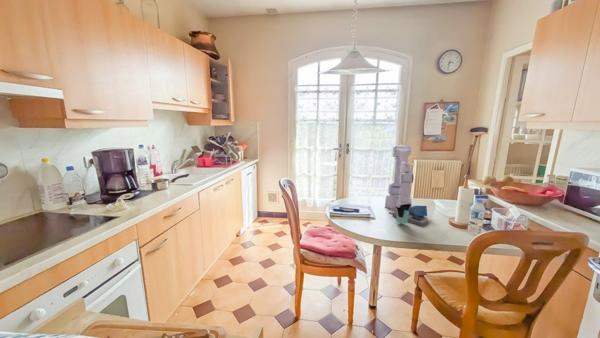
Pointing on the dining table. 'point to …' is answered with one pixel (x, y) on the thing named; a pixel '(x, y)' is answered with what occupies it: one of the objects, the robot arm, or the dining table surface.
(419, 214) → the perfume bottle
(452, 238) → the dining table surface
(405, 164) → the robot arm
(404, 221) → the charger
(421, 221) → the strip
